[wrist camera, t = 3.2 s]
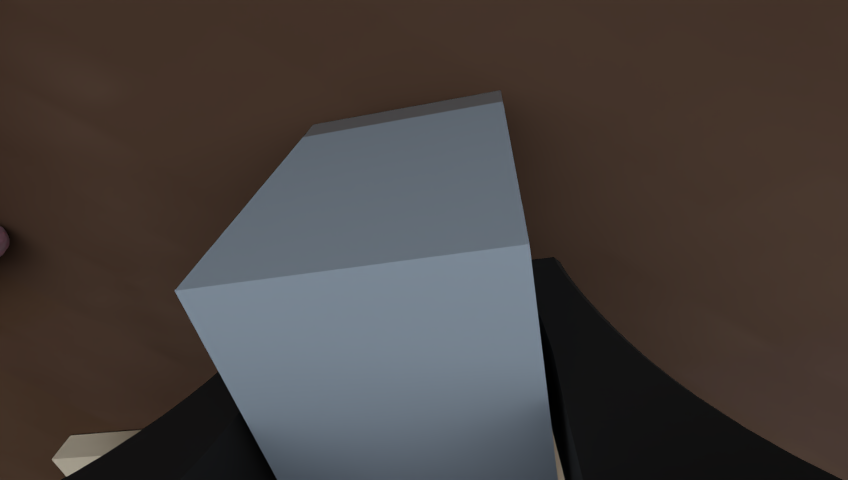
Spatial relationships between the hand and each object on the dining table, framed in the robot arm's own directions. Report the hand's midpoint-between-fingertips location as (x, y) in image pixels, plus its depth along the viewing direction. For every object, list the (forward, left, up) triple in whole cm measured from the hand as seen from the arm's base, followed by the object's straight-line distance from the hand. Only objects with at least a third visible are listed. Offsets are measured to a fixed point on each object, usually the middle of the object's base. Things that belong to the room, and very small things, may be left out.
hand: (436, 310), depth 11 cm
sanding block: (0, 0, -2) cm, 2 cm away
